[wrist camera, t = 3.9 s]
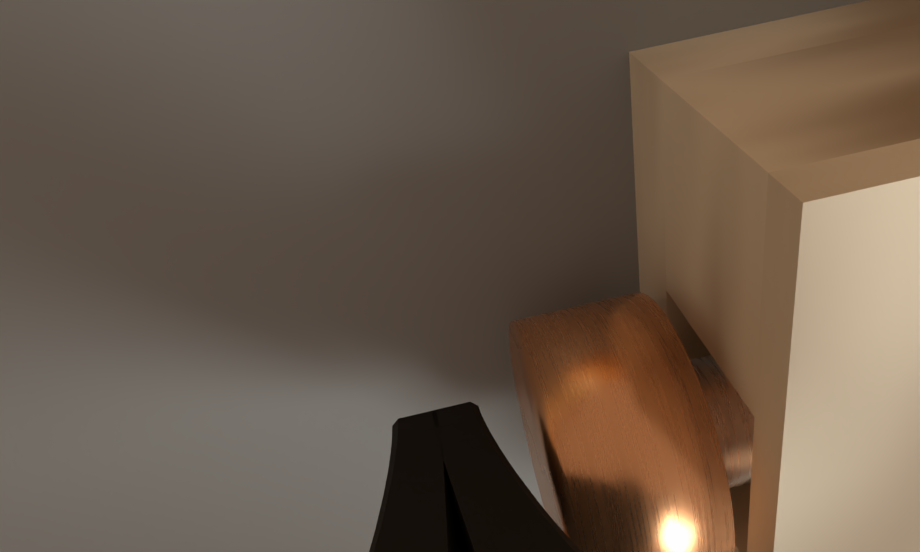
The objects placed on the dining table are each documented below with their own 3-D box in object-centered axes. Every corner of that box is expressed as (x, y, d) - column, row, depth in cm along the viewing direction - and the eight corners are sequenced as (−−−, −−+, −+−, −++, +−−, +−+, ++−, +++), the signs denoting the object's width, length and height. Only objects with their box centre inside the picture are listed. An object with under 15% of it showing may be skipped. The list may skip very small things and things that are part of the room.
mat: (1295, -305, 11) (1310, -306, 11) (1029, 487, 20) (1035, 493, 20) (-514, 60, 10) (-529, 64, 10) (53, 730, 19) (51, 739, 18)
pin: (1080, 135, 13) (1375, 273, 10) (1021, 340, 16) (1239, 513, 12) (496, 267, 13) (572, 466, 9) (527, 459, 15) (597, 677, 12)
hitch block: (1008, -30, 12) (1372, 74, 8) (911, 437, 18) (1098, 642, 14) (628, 52, 12) (802, 202, 8) (649, 501, 17) (758, 731, 13)
